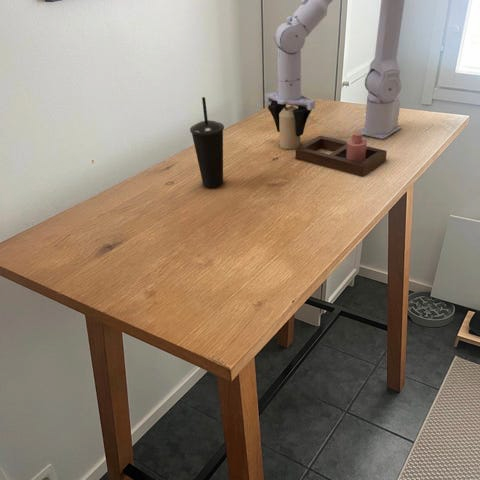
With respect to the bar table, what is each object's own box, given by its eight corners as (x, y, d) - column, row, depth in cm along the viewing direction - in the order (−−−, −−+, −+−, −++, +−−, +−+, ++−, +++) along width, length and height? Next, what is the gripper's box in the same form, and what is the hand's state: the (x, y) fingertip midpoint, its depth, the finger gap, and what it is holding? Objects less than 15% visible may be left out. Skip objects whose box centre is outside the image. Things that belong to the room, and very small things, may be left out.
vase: (352, 158, 127) (354, 128, 123) (369, 162, 125) (371, 132, 120) (341, 165, 125) (343, 134, 120) (358, 169, 122) (361, 138, 117)
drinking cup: (225, 191, 118) (216, 103, 105) (193, 191, 120) (181, 103, 107) (232, 177, 124) (224, 92, 111) (202, 177, 125) (191, 92, 113)
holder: (319, 145, 136) (319, 135, 134) (385, 160, 125) (387, 150, 123) (295, 158, 130) (295, 148, 128) (362, 176, 119) (363, 166, 117)
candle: (276, 148, 136) (275, 110, 130) (284, 140, 140) (284, 103, 133) (295, 150, 134) (295, 111, 127) (303, 142, 138) (303, 104, 131)
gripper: (257, 79, 128) (259, 132, 136) (303, 86, 120) (303, 143, 129) (274, 72, 132) (276, 124, 140) (320, 79, 124) (319, 134, 132)
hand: (290, 132), depth 135 cm, fingers open, 6 cm apart
